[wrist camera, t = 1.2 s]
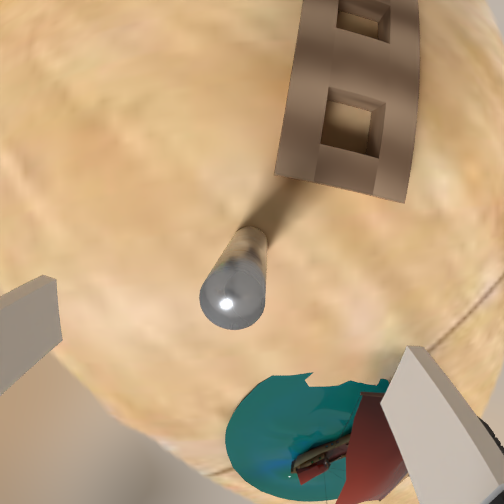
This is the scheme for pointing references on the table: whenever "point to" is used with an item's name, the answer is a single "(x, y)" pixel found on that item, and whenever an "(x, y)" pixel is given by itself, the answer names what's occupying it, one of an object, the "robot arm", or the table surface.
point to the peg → (237, 282)
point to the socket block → (354, 96)
